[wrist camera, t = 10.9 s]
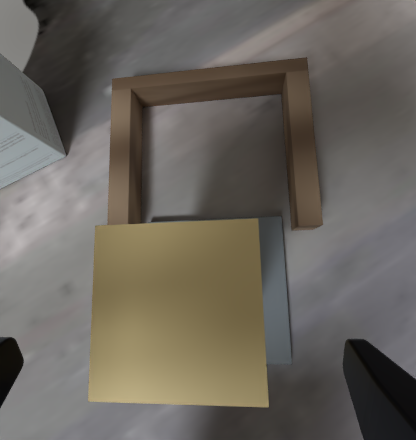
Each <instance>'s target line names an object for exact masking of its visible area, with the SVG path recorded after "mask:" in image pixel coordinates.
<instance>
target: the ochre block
mask: <svg viewBox="0 0 416 440" xmlns="http://www.w3.org/2000/svg"><path fill="white" fill-rule="evenodd" d="M88 402H118V403H149V404H179V405H209V406H240V407H269V400H268V382H267V365H266V347H265V330H264V312H263V295H262V277H261V259H260V242H259V224H258V218H255V219H233V220H211V221H189V222H167V223H145V224H123V225H101V226H95V245H94V270H93V295H92V320H91V345H90V370H89V395H88Z"/></svg>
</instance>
